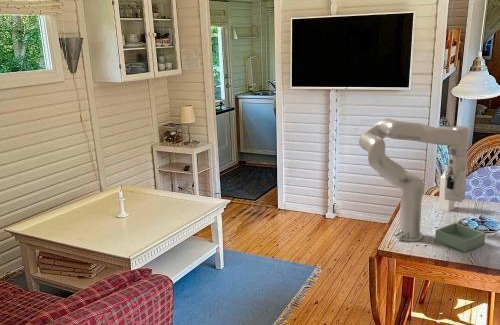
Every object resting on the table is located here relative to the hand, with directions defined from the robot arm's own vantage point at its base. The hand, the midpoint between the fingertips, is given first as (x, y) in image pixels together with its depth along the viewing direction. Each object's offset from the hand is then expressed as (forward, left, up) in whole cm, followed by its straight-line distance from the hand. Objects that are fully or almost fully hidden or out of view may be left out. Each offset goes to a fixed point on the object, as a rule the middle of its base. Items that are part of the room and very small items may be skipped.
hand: (455, 186), depth 219 cm
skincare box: (0, 0, -7) cm, 7 cm away
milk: (+24, +21, -24) cm, 39 cm away
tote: (-9, -10, -23) cm, 27 cm away
